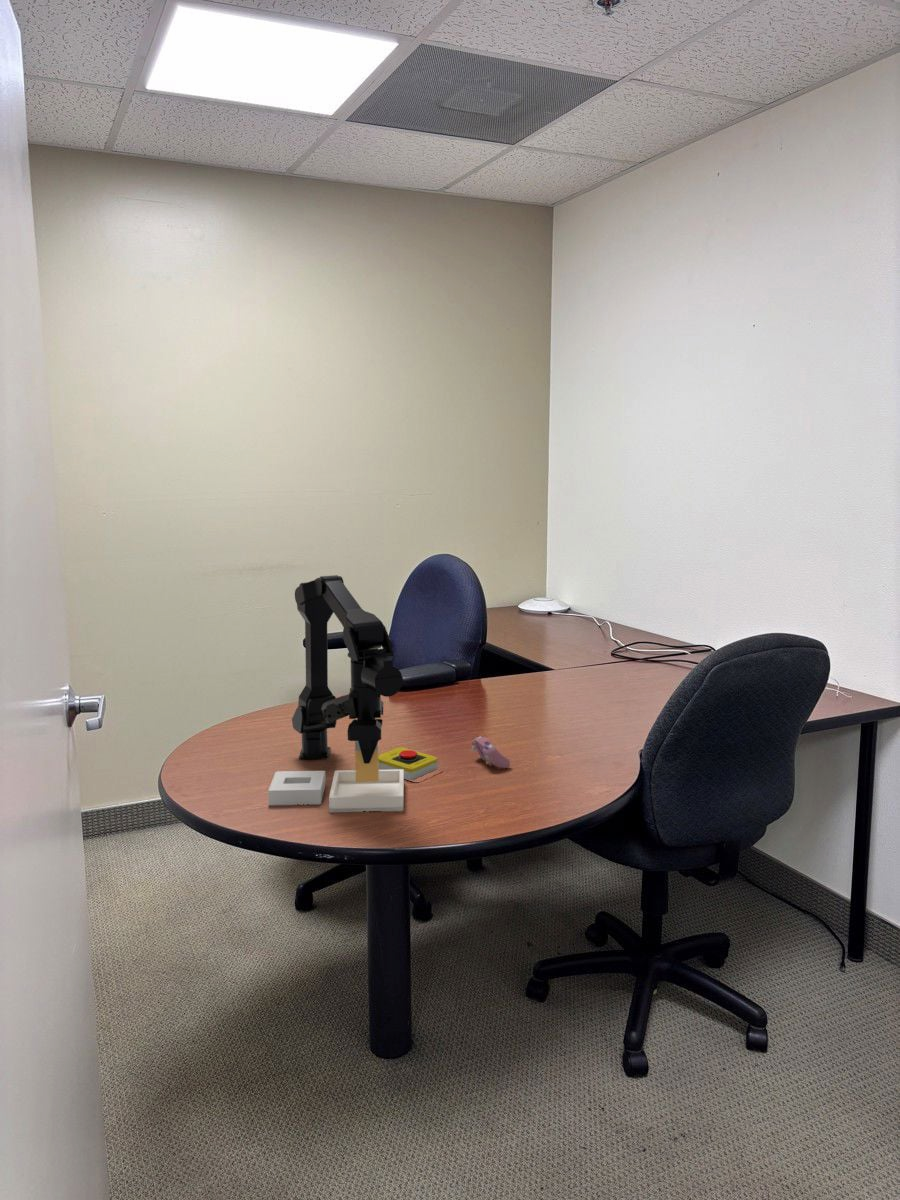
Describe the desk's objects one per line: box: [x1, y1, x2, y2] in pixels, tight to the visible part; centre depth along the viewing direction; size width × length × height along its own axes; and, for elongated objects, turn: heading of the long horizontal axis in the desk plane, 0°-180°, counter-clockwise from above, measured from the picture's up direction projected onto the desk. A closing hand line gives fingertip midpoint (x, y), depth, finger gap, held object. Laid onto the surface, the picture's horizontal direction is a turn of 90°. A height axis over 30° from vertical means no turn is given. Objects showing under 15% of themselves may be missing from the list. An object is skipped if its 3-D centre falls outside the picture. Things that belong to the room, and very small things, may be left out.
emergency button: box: [378, 746, 439, 780], centre depth 189 cm, size 9×4×15 cm
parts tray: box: [328, 769, 405, 814], centre depth 174 cm, size 14×14×3 cm
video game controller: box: [471, 735, 511, 770], centre depth 192 cm, size 10×5×7 cm, turn 21°
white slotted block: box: [267, 770, 326, 806], centre depth 175 cm, size 10×10×3 cm
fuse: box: [354, 741, 379, 782], centre depth 173 cm, size 2×4×8 cm, turn 93°
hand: (367, 760), depth 173 cm, fingers closed on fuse, 2 cm apart
